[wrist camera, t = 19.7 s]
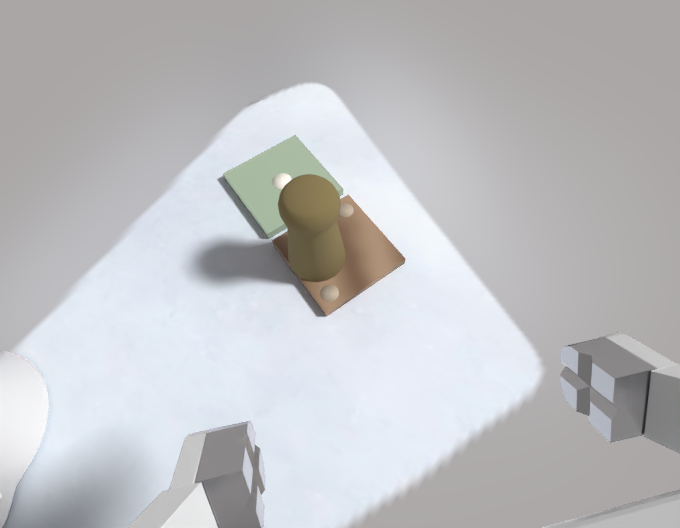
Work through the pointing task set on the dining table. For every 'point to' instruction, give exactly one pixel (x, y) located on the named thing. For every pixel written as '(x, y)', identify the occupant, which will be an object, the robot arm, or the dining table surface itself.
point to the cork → (312, 227)
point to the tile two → (351, 259)
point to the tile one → (273, 180)
